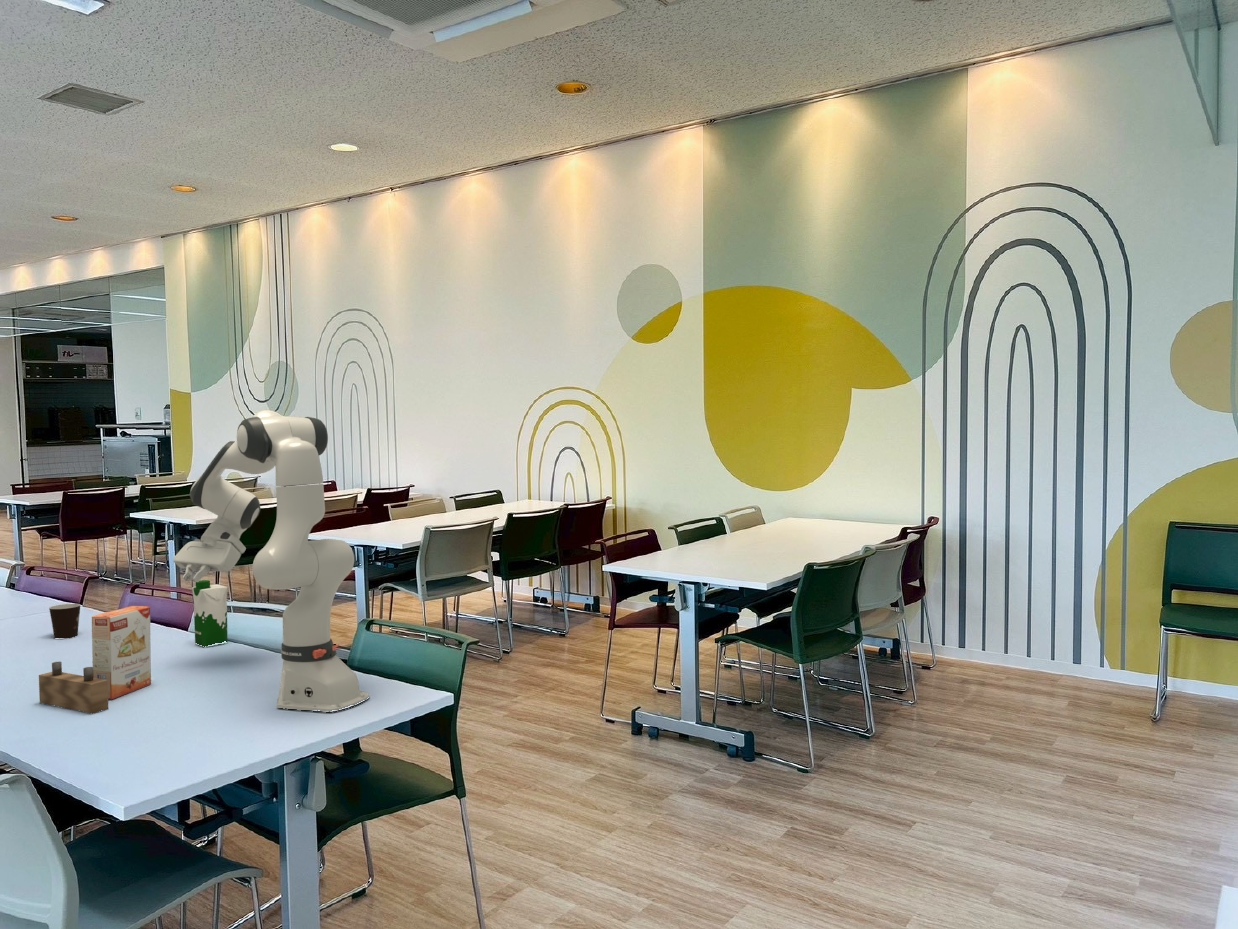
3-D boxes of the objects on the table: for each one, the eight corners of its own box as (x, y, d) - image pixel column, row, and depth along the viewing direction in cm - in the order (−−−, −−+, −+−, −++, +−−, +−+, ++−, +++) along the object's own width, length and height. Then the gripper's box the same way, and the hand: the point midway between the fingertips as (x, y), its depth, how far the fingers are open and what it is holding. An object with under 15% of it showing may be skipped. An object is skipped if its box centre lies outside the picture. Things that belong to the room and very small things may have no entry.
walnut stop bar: (108, 709, 214) (107, 667, 213) (92, 714, 210) (90, 672, 210) (56, 698, 222) (54, 659, 222) (39, 703, 219) (38, 662, 218)
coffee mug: (70, 640, 285) (69, 609, 285) (44, 640, 285) (43, 609, 285) (92, 631, 297) (91, 601, 296) (67, 631, 297) (66, 602, 296)
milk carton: (191, 644, 278) (189, 580, 277) (220, 639, 284) (218, 577, 283) (202, 649, 272) (200, 583, 271) (232, 643, 278) (230, 580, 277)
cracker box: (113, 700, 220) (110, 616, 220) (92, 699, 222) (89, 615, 221) (153, 684, 234) (151, 605, 233) (133, 683, 235) (131, 604, 235)
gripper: (186, 532, 256) (156, 571, 248) (237, 535, 247) (208, 575, 239) (199, 545, 260) (171, 584, 252) (250, 549, 251) (222, 589, 243)
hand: (189, 580), depth 245 cm, fingers closed
